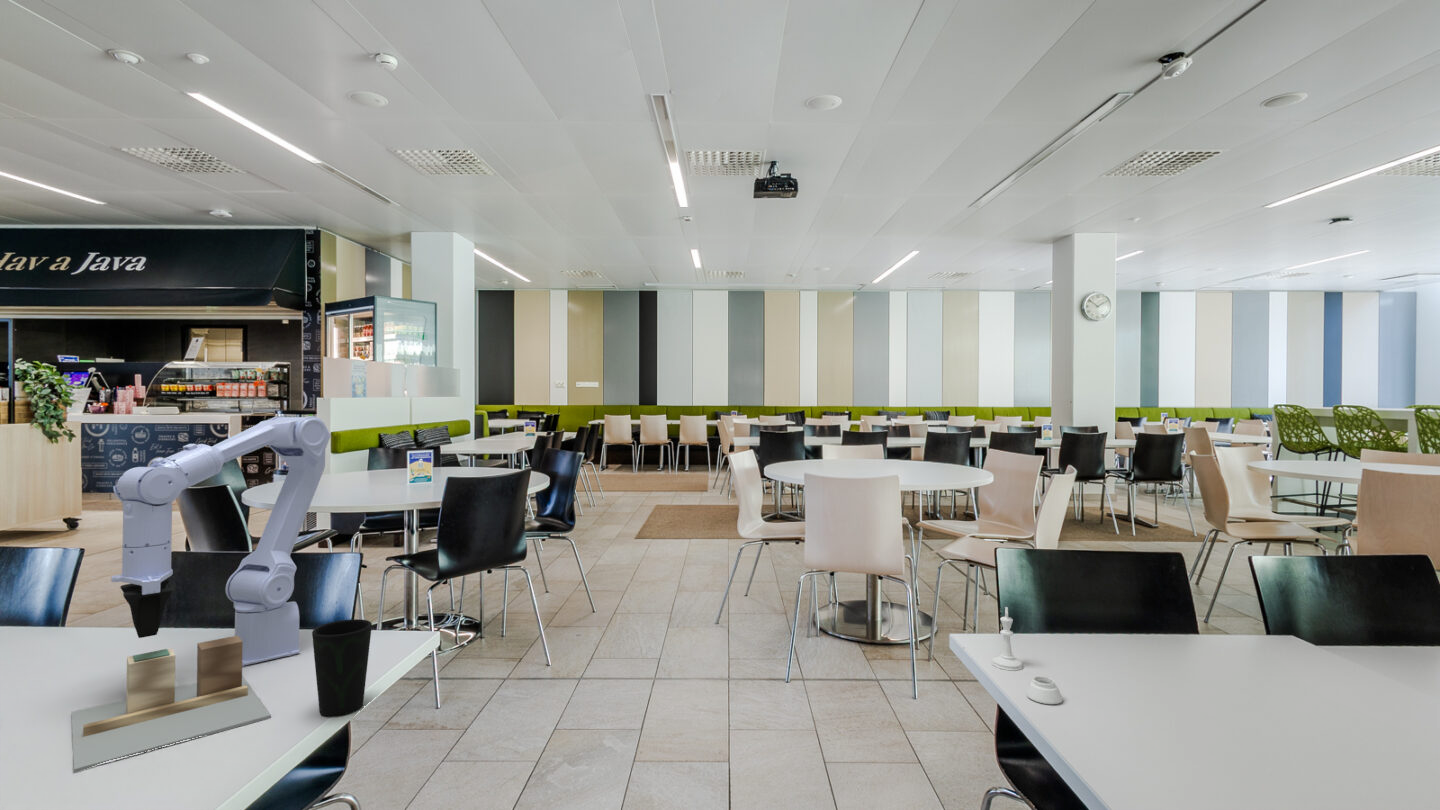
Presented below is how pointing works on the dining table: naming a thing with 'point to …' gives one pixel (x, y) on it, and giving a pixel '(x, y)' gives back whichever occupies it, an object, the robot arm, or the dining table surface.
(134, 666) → the beech block
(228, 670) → the walnut block
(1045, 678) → the white jar
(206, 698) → the oak rail
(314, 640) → the cup
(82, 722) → the grey mat
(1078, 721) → the dining table surface
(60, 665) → the dining table surface
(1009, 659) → the chess piece
